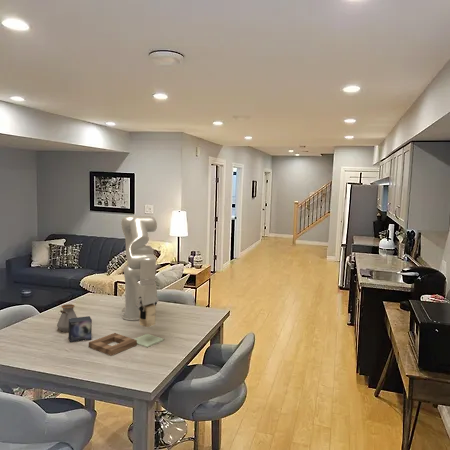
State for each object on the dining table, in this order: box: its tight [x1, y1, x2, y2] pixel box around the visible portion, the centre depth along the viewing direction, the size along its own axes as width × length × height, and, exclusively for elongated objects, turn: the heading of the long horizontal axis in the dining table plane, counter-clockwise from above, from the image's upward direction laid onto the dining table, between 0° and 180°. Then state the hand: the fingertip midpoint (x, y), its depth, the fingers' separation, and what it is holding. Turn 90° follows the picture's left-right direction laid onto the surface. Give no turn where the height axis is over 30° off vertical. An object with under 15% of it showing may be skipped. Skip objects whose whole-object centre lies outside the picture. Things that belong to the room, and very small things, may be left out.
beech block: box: [139, 304, 157, 328], centre depth 206 cm, size 6×6×10 cm
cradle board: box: [88, 332, 138, 357], centre depth 200 cm, size 16×16×2 cm
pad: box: [134, 333, 165, 348], centre depth 208 cm, size 12×12×1 cm
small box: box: [67, 315, 93, 343], centre depth 207 cm, size 11×6×10 cm, turn 118°
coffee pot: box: [56, 303, 78, 333], centre depth 215 cm, size 21×12×15 cm, turn 7°
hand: (147, 316), depth 206 cm, fingers closed on beech block, 5 cm apart
